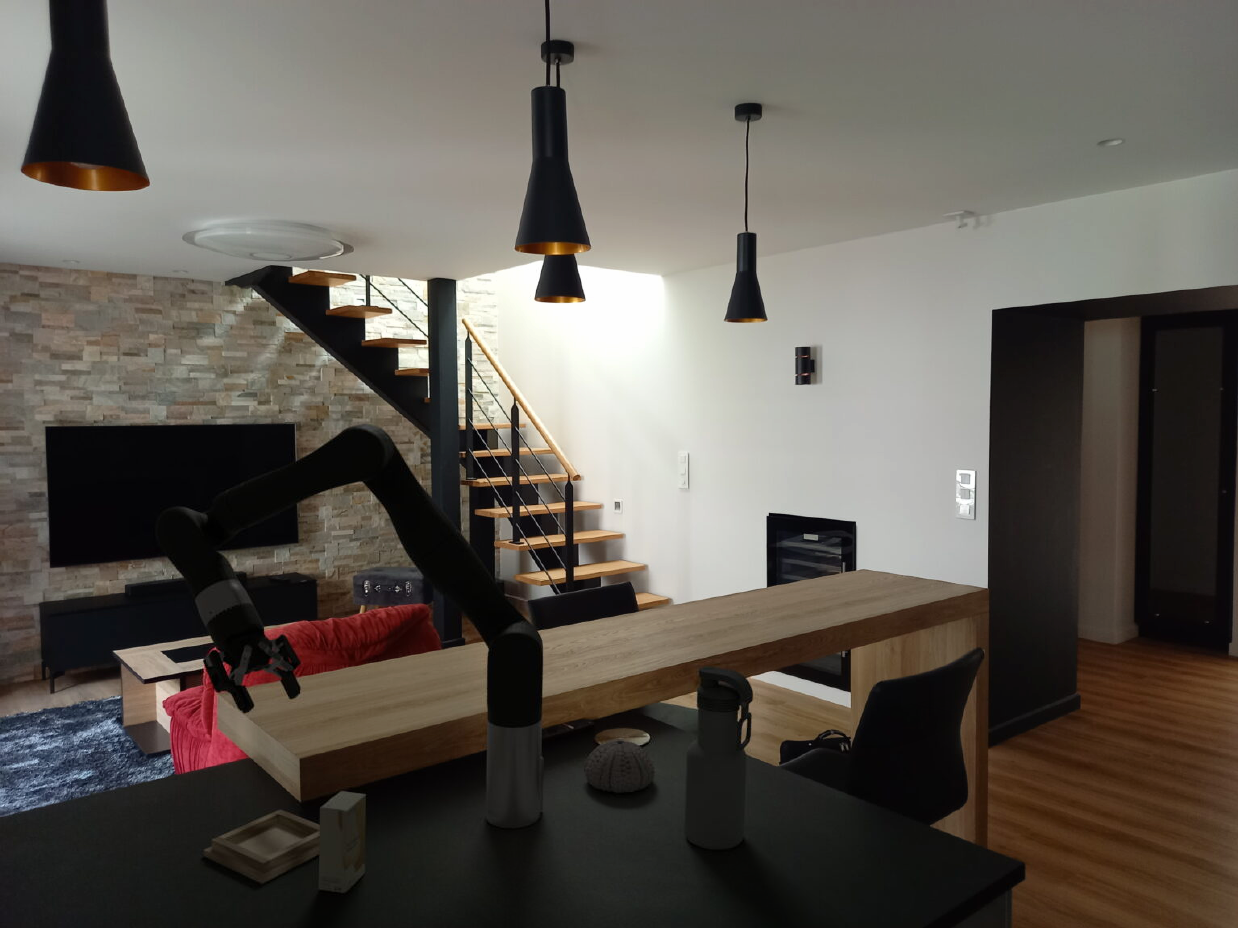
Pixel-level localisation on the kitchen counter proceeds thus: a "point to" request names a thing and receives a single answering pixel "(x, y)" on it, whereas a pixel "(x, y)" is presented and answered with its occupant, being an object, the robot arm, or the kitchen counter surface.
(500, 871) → the kitchen counter surface
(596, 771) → the sea urchin shell
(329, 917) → the kitchen counter surface
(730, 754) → the water bottle
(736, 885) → the kitchen counter surface
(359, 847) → the skincare box
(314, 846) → the tray
